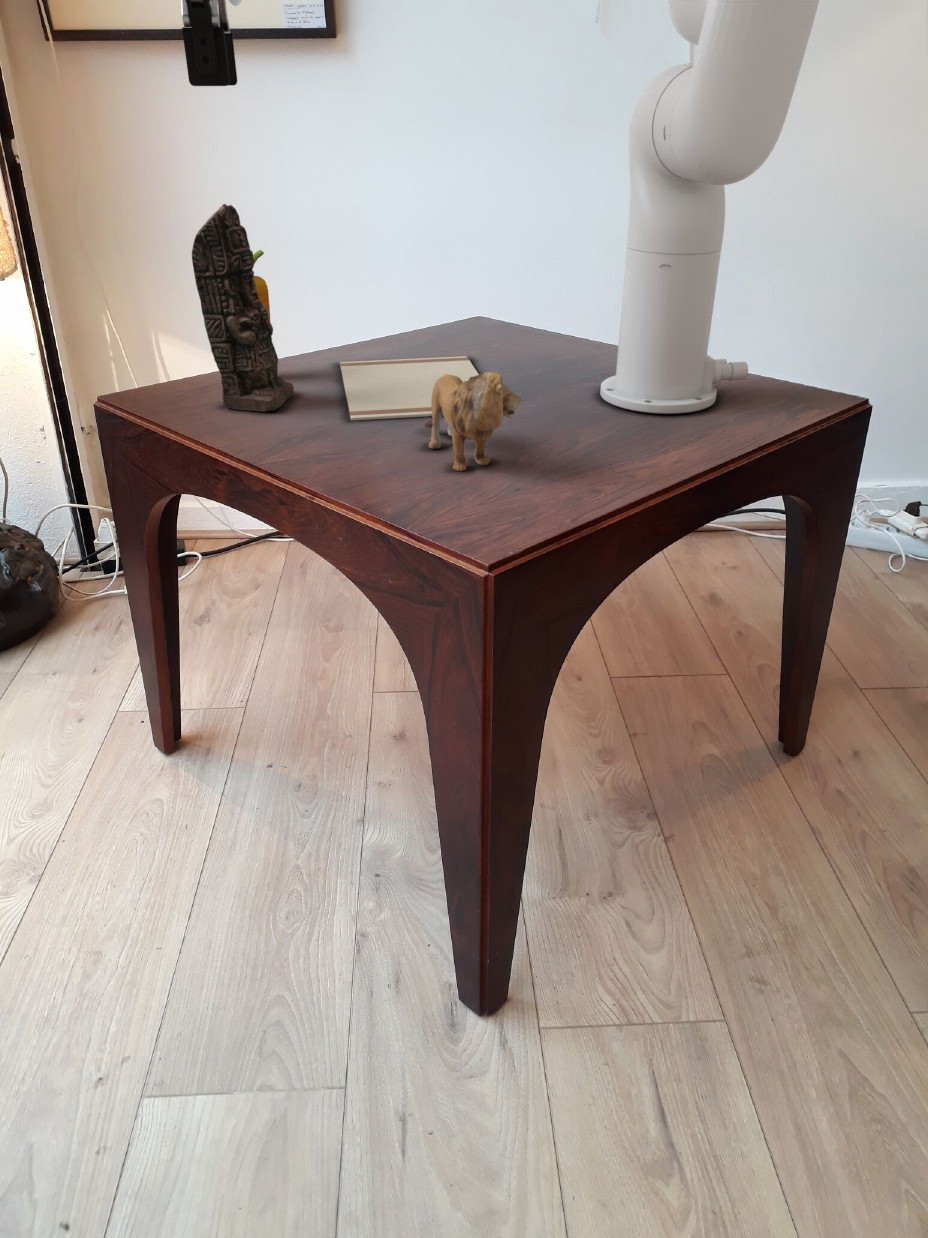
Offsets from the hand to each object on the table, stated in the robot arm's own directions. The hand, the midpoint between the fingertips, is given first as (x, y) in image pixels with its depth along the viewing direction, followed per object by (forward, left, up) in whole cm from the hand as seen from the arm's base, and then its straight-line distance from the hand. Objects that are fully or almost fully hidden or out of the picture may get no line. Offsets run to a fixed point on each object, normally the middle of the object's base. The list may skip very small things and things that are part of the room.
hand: (215, 85), depth 78 cm
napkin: (-18, -10, -30) cm, 36 cm away
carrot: (0, -17, -30) cm, 35 cm away
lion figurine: (-20, +13, -30) cm, 38 cm away
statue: (0, -7, -30) cm, 31 cm away
